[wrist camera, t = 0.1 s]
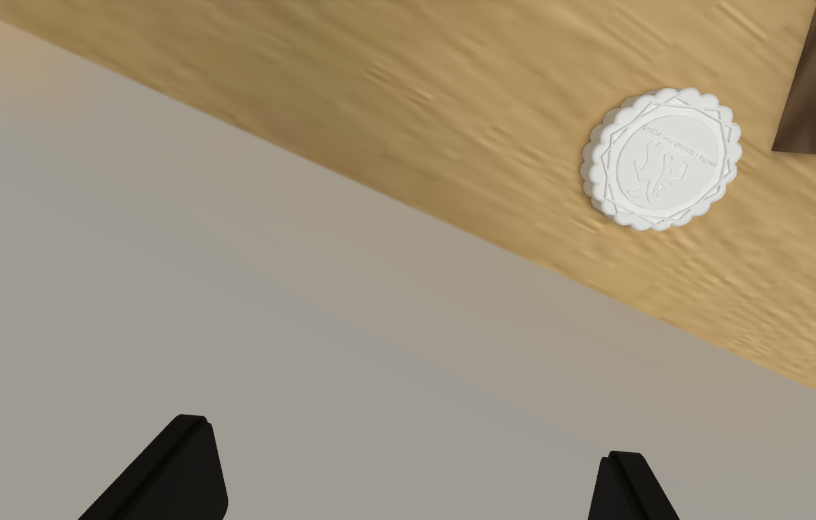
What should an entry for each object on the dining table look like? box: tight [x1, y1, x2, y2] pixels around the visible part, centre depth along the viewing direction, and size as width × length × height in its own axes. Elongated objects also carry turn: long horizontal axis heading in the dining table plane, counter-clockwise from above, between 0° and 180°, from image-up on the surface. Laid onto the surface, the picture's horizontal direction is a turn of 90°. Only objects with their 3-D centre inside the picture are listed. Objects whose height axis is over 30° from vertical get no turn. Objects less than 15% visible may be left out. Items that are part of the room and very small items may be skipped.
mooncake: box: [580, 87, 742, 231], centre depth 33 cm, size 12×12×4 cm
